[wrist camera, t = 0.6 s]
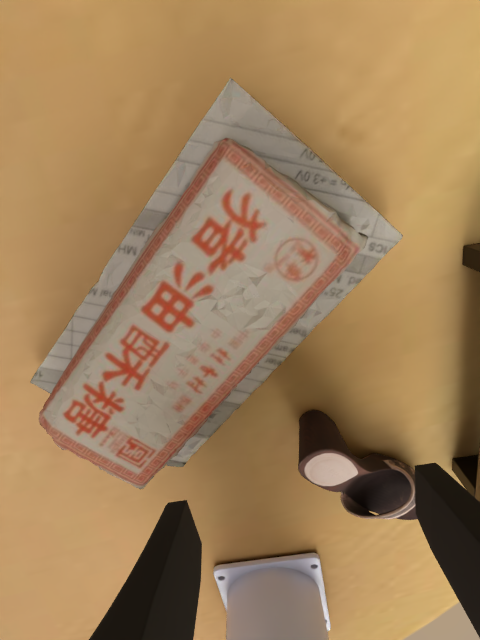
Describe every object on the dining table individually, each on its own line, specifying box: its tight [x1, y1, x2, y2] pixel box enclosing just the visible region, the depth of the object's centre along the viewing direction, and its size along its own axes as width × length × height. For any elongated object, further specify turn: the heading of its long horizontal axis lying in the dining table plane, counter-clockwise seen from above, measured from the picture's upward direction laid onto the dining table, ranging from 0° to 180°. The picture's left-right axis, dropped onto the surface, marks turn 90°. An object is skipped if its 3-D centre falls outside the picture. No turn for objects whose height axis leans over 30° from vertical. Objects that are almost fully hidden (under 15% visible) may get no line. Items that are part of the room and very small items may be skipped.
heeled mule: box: [298, 410, 418, 520], centre depth 21 cm, size 4×11×4 cm, turn 47°
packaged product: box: [30, 78, 403, 489], centre depth 17 cm, size 18×5×10 cm
